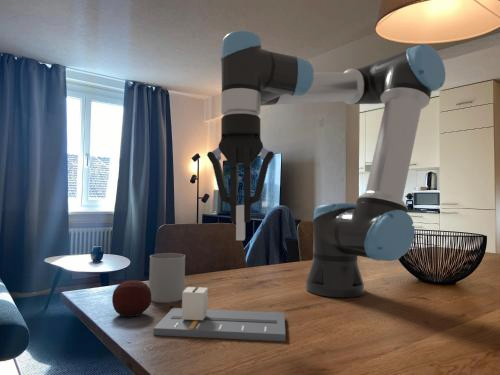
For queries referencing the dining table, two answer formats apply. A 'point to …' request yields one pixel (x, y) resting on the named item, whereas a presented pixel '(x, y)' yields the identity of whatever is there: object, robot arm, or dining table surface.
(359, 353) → the dining table surface
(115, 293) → the potato
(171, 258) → the cup
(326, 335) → the dining table surface
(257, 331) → the console
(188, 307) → the fader
